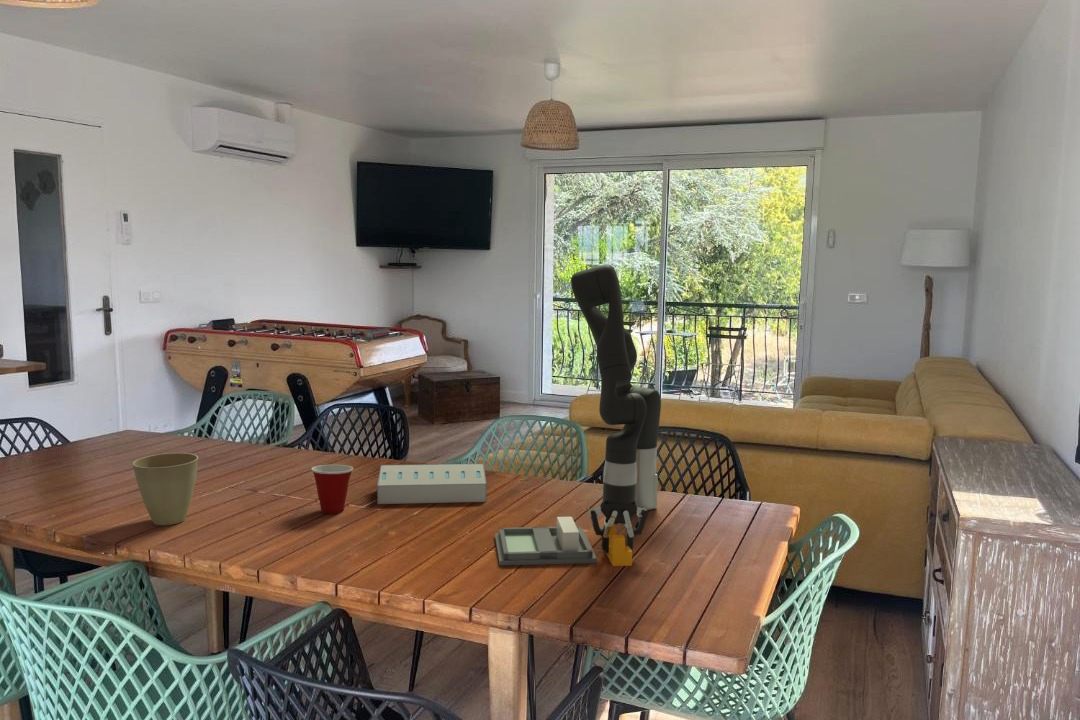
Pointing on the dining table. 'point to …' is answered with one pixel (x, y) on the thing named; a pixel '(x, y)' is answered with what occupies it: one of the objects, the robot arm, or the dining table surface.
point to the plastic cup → (332, 486)
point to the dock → (544, 545)
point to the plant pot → (167, 485)
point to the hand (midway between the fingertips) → (616, 551)
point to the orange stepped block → (618, 549)
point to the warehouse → (431, 483)
